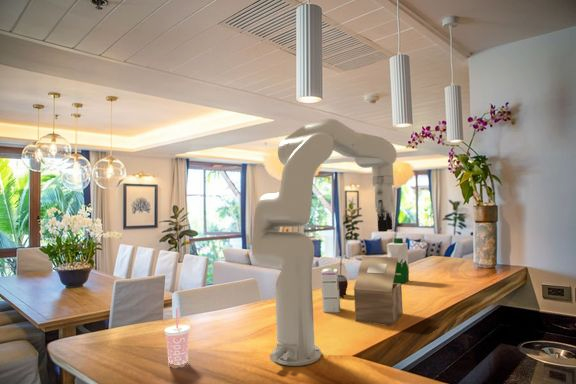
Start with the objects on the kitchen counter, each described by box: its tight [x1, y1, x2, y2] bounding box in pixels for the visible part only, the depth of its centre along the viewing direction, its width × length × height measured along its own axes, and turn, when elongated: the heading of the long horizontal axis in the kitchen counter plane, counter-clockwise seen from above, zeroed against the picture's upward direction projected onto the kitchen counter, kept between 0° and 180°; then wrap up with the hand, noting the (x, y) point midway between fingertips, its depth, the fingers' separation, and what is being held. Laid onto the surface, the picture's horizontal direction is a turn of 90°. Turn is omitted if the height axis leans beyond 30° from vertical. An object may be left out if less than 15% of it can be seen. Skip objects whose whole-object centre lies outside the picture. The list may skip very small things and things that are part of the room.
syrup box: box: [320, 268, 341, 313], centre depth 136 cm, size 6×6×14 cm
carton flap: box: [353, 256, 398, 293], centre depth 124 cm, size 14×12×1 cm
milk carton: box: [386, 237, 410, 285], centre depth 178 cm, size 9×9×20 cm
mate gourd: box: [338, 256, 349, 298], centre depth 157 cm, size 8×8×15 cm
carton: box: [353, 283, 404, 326], centre depth 126 cm, size 14×12×10 cm
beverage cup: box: [164, 307, 191, 365], centre depth 95 cm, size 6×6×14 cm
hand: (385, 230), depth 138 cm, fingers open, 6 cm apart
